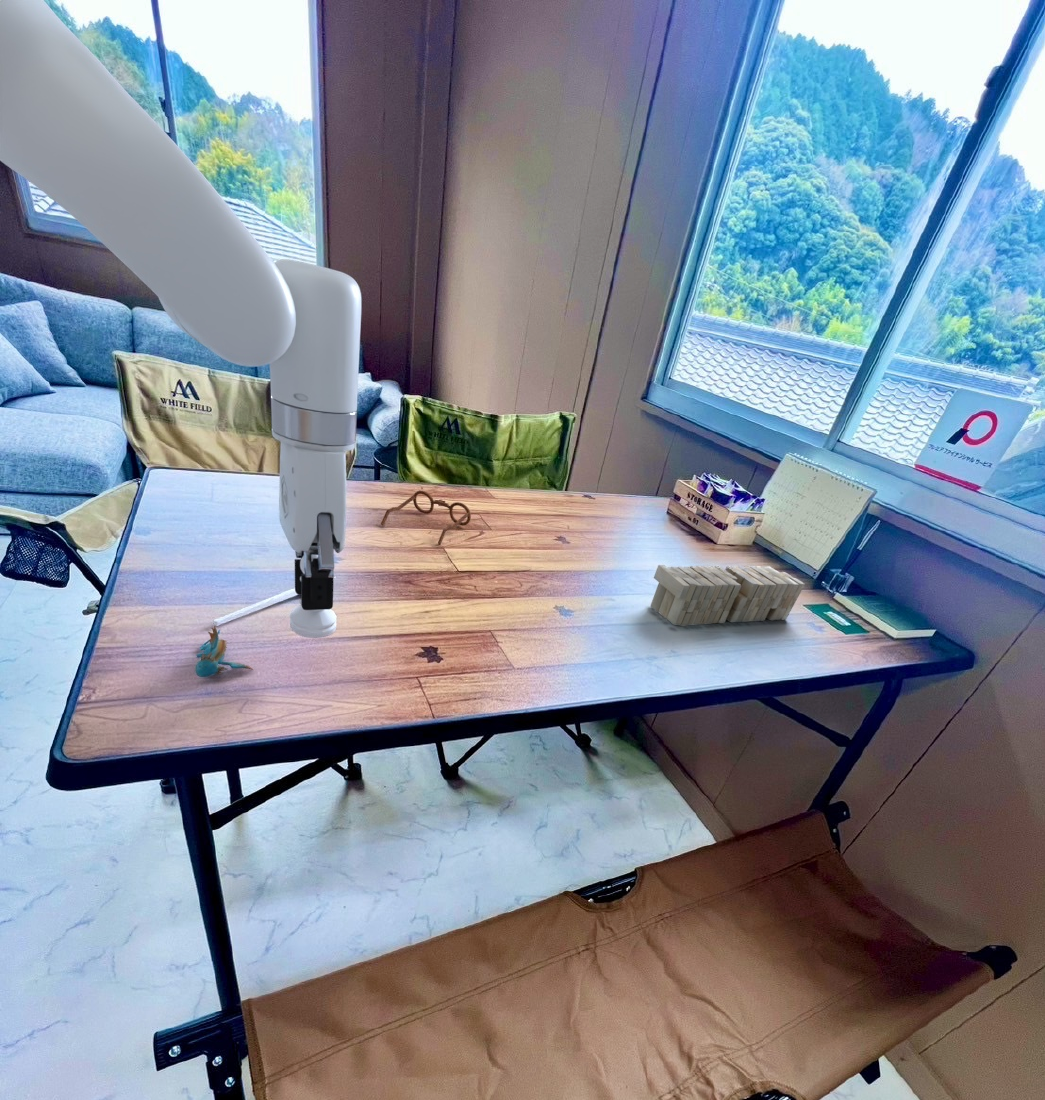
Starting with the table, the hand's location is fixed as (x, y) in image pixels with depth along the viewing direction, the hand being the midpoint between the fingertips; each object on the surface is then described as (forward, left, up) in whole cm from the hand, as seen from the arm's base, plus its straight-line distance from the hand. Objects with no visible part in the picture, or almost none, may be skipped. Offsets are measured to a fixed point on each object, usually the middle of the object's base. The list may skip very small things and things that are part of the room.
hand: (313, 599), depth 65 cm
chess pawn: (0, 0, -4) cm, 4 cm away
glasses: (+31, +46, -9) cm, 56 cm away
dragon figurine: (-10, +3, -9) cm, 14 cm away
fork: (-1, +17, -9) cm, 20 cm away
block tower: (+73, +5, -9) cm, 73 cm away
